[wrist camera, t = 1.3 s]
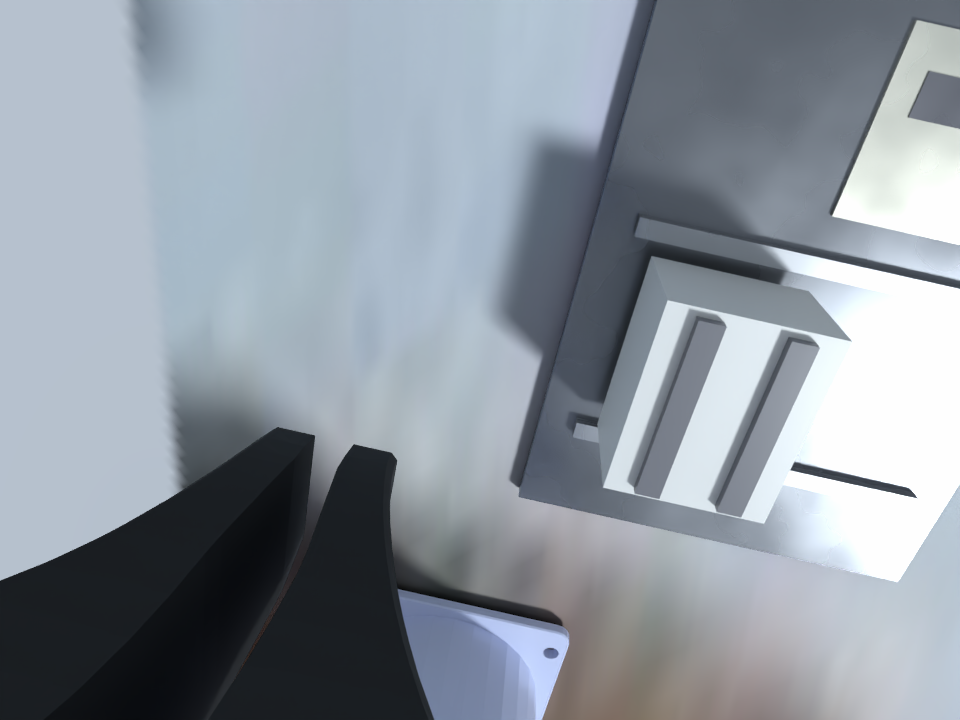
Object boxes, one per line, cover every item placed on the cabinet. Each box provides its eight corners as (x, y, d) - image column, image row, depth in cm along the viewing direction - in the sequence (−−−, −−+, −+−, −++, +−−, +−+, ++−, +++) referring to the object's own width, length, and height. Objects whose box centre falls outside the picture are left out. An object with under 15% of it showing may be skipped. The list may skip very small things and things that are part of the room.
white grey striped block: (736, 454, 20) (766, 530, 17) (597, 423, 20) (603, 494, 17) (808, 291, 18) (857, 346, 15) (651, 256, 18) (669, 304, 15)
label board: (892, 572, 23) (902, 589, 22) (519, 488, 23) (518, 502, 22) (1232, 20, 15) (1260, 21, 15) (684, -103, 15) (689, -108, 15)
